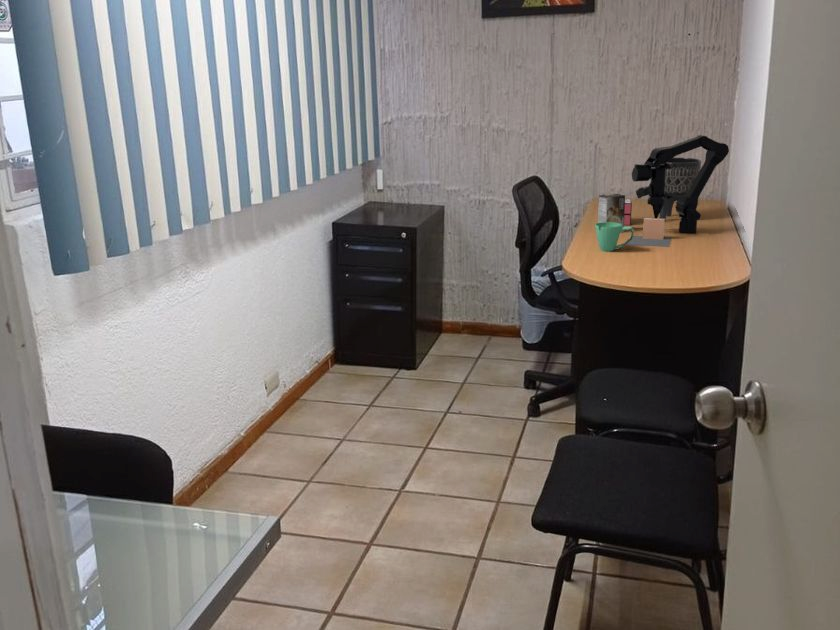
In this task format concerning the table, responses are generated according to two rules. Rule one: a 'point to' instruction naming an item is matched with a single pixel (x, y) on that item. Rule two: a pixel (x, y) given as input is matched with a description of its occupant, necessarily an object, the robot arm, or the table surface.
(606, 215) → the coffee box
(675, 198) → the planter
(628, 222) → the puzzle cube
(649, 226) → the tile
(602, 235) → the mug
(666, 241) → the mat
